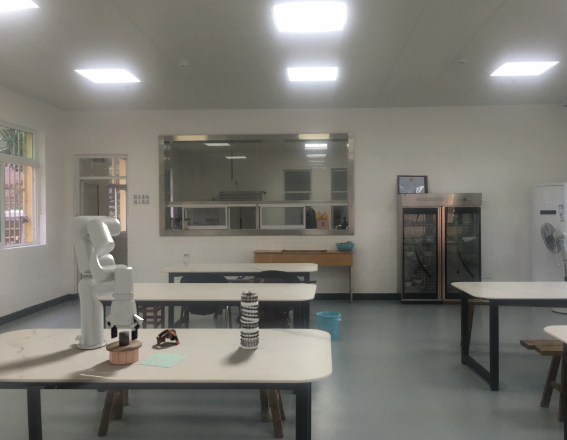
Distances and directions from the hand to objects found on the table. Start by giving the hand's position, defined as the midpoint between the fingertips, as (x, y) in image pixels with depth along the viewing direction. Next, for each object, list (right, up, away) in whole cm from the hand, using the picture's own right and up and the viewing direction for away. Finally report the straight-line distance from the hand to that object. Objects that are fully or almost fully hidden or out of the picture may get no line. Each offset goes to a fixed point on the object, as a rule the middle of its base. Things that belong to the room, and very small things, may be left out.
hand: (124, 338), depth 176 cm
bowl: (0, -9, 0) cm, 9 cm away
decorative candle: (+50, -9, +19) cm, 54 cm away
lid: (0, -3, 0) cm, 3 cm away
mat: (+16, -9, 0) cm, 18 cm away
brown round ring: (+12, -9, +23) cm, 28 cm away
